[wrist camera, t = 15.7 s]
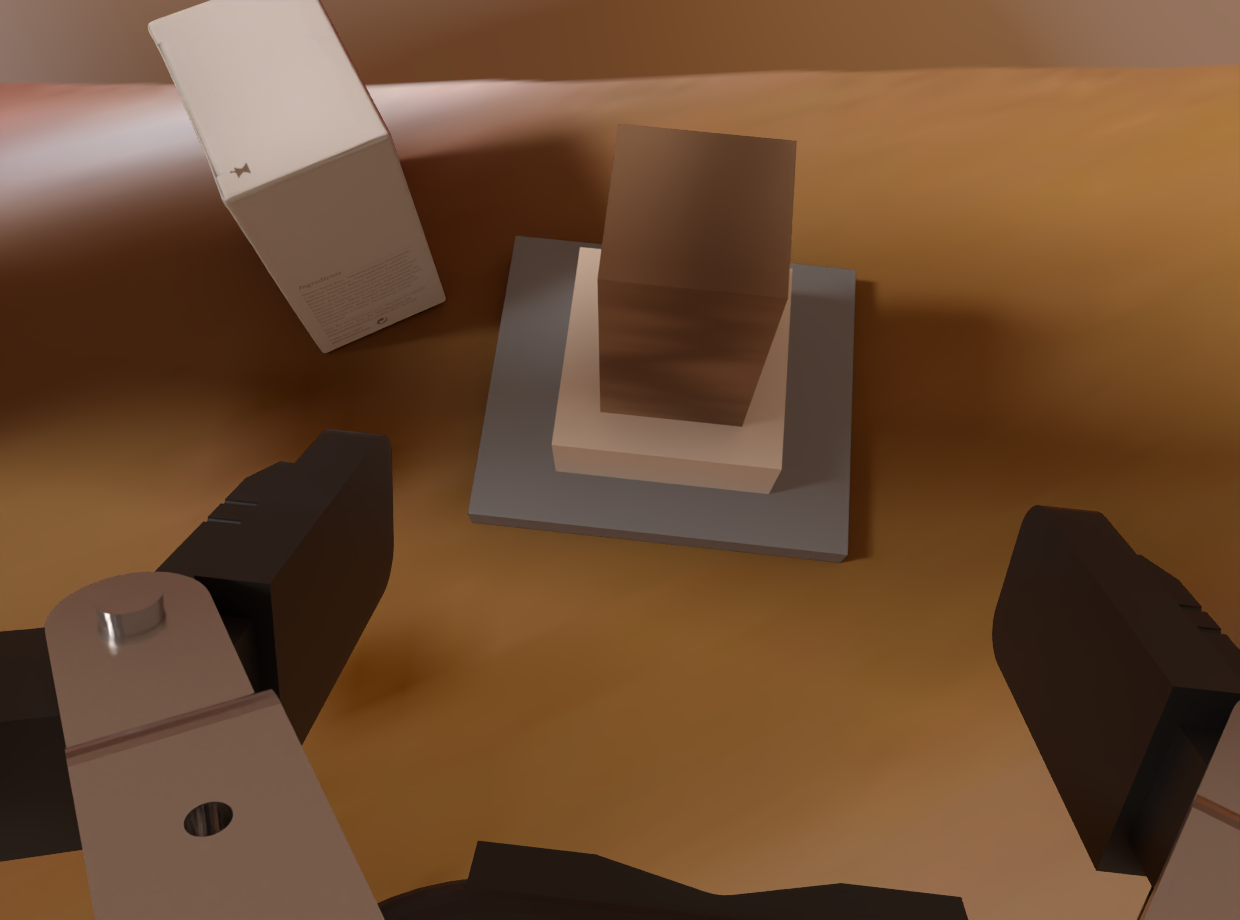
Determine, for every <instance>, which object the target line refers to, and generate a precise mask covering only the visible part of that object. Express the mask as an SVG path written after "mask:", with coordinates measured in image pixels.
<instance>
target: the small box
mask: <svg viewBox="0 0 1240 920" xmlns="http://www.w3.org/2000/svg"><path fill="white" fill-rule="evenodd" d="M148 30H149V33H150V34H151V36H152V38H153V40H154V42H155V43H156V46H157V48H158V49H159V51H160V53H161V55H162V58H163V60H164V62H165V64H166V66H167V68H168V71H169V73H170V75H171V77H172V79H173V82H174V84H175V86H176V89H177V91H178V93H179V95H180V98H181V100H182V102H183V104H184V107H185V109H186V111H187V114H188V116H189V118H190V120H191V123H192V125H193V127H194V130H195V132H196V134H197V137H198V139H199V141H200V144H201V146H202V148H203V151H204V153H205V155H206V158H207V160H208V163H209V166H210V168H211V171H212V174H213V176H214V179H215V182H216V184H217V187H218V190H219V193H220V195H221V199H222V201H223V203H224V204H225V206H226V207H227V209H228V210H229V212H230V213H231V215H232V216H233V217H234V219H235V220H236V222H237V224H238V225H239V227H240V228H241V230H242V231H243V233H244V234H245V236H246V237H247V239H248V240H249V242H250V243H251V245H252V246H253V248H254V250H255V251H256V253H257V254H258V256H259V257H260V259H261V261H262V262H263V264H264V265H265V267H266V269H267V270H268V272H269V273H270V275H271V276H272V278H273V279H274V281H275V283H276V284H277V286H278V287H279V289H280V290H281V292H282V293H283V295H284V296H285V298H286V299H287V301H288V302H289V304H290V305H291V307H292V309H293V310H294V311H295V313H296V314H297V316H298V318H299V319H300V321H301V322H302V324H303V325H304V327H305V328H306V330H307V331H308V332H309V334H310V335H311V337H312V338H313V340H314V341H315V343H316V344H317V346H318V347H319V349H320V350H321V351H322V352H323V353H327V352H330V351H332V350H334V349H336V348H339V347H341V346H343V345H346V344H348V343H350V342H353V341H355V340H357V339H359V338H362V337H364V336H366V335H369V334H371V333H373V332H376V331H378V330H380V329H382V328H384V327H387V326H389V325H391V324H394V323H396V322H398V321H400V320H403V319H405V318H407V317H410V316H412V315H414V314H417V313H419V312H421V311H424V310H426V309H428V308H431V307H433V306H435V305H437V304H440V303H442V302H444V301H445V300H446V297H445V294H444V291H443V288H442V285H441V282H440V279H439V276H438V273H437V270H436V267H435V264H434V261H433V258H432V255H431V252H430V249H429V246H428V243H427V240H426V238H425V235H424V232H423V229H422V226H421V223H420V220H419V217H418V214H417V211H416V208H415V205H414V202H413V200H412V197H411V194H410V191H409V188H408V185H407V182H406V179H405V176H404V173H403V170H402V167H401V164H400V162H399V159H398V155H397V152H396V149H395V146H394V143H393V140H392V137H391V134H390V132H389V130H388V128H387V126H386V124H385V122H384V121H383V119H382V117H381V115H380V113H379V111H378V109H377V107H376V106H375V104H374V102H373V100H372V98H371V96H370V94H369V92H368V90H367V88H366V86H365V84H364V83H363V80H362V79H361V77H360V75H359V73H358V71H357V69H356V67H355V65H354V63H353V62H352V60H351V58H350V56H349V54H348V52H347V50H346V48H345V46H344V44H343V42H342V41H341V39H340V37H339V35H338V33H337V31H336V29H335V28H334V25H333V24H332V22H331V20H330V18H329V16H328V14H327V12H326V11H325V8H324V7H323V4H322V3H321V1H320V0H210V1H207V2H205V3H202V4H199V5H197V6H194V7H190V8H188V9H185V10H182V11H179V12H176V13H174V14H171V15H168V16H165V17H163V18H160V19H157V20H154V21H152V22H150V23H149V24H148Z"/></svg>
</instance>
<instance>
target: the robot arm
mask: <svg viewBox="0 0 1240 920" xmlns="http://www.w3.org/2000/svg"><path fill="white" fill-rule="evenodd" d="M393 549H394V534H393V486H392V452H391V445H390V441H389V439H388V437H387V436H386V435H382V434H372V433H363V432H353V431H344V430H335V429H326V430H324V431H323V432H322V433H321V434H320V435H319V437H318V438H317V439H316V440H315V441H314V442H313V443H312V444H311V445H310V447H309V448H308V449H307V450H306V451H305V452H304V453H303V454H302V455H301V457H300V458H299V459H298V460H297V461H296V462H295V463H289V462H278V463H276V464H274V465H272V466H270V467H268V468H266V469H264V470H261V471H259V472H257V473H255V474H253V475H251V476H249V477H247V478H245V479H244V480H243V481H242V482H241V483H240V485H239V486H238V487H237V488H236V489H235V490H234V491H233V492H232V493H231V494H230V495H229V496H228V497H227V498H226V499H225V504H220V505H219V506H218V507H217V508H216V509H215V510H214V511H213V512H212V513H211V514H210V515H209V516H208V521H207V522H202V524H201V525H200V526H199V527H198V528H197V529H196V530H195V531H194V532H193V533H192V534H191V535H190V536H189V537H188V538H187V539H186V540H185V541H184V542H183V543H182V544H181V545H180V546H179V547H178V548H177V549H176V550H175V551H174V552H173V553H172V554H171V555H170V556H169V557H168V558H167V559H166V560H165V562H164V563H163V564H162V565H161V566H160V567H159V568H158V569H157V570H156V571H155V572H138V573H130V574H124V575H118V576H114V577H110V578H106V579H103V580H100V581H97V582H95V583H92V584H90V585H87V586H85V587H83V588H81V589H79V590H77V591H75V592H74V593H72V594H70V595H69V596H67V597H66V598H64V599H63V600H62V601H60V602H59V603H58V604H57V605H56V606H55V607H54V608H53V609H52V611H51V612H50V614H49V615H48V617H47V620H46V623H45V627H44V628H36V629H26V630H14V631H2V632H0V862H1V861H8V860H15V859H22V858H28V857H35V856H42V855H49V854H56V853H63V852H70V851H77V850H83V854H84V860H85V865H86V871H87V876H88V882H89V887H90V893H91V898H92V904H93V909H94V915H95V920H968V918H967V915H966V911H965V908H964V905H963V902H962V898H961V897H955V896H946V895H938V894H929V893H921V892H912V891H904V890H895V889H887V888H878V887H869V886H861V885H852V884H844V883H838V884H829V885H820V886H811V887H802V888H793V889H783V890H774V891H765V892H756V893H747V894H737V895H716V894H711V893H707V892H704V891H701V890H698V889H695V888H692V887H689V886H686V885H684V884H681V883H678V882H675V881H672V880H669V879H666V878H663V877H660V876H657V875H654V874H651V873H648V872H645V871H642V870H640V869H637V868H634V867H631V866H628V865H625V864H622V863H619V862H616V861H613V860H610V859H607V858H604V857H601V856H599V855H596V854H587V853H579V852H570V851H562V850H553V849H545V848H536V847H528V846H519V845H511V844H502V843H493V842H485V841H478V842H477V846H476V850H475V854H474V858H473V861H472V865H471V869H470V873H469V877H468V879H465V880H457V881H449V882H445V883H440V884H436V885H431V886H426V887H422V888H418V889H415V890H412V891H409V892H406V893H403V894H400V895H397V896H394V897H391V898H388V899H386V900H384V901H382V902H380V903H376V900H375V898H374V896H373V894H372V892H371V890H370V888H369V886H368V884H367V882H366V880H365V877H364V875H363V873H362V871H361V869H360V867H359V865H358V863H357V861H356V859H355V857H354V855H353V852H352V850H351V848H350V846H349V844H348V842H347V840H346V838H345V836H344V834H343V832H342V829H341V827H340V825H339V823H338V821H337V819H336V817H335V815H334V813H333V811H332V809H331V807H330V804H329V802H328V800H327V798H326V796H325V794H324V792H323V790H322V788H321V786H320V784H319V782H318V779H317V777H316V775H315V773H314V771H313V769H312V767H311V765H310V763H309V761H308V759H307V756H306V754H305V752H304V750H303V748H302V744H303V742H304V740H305V739H306V737H307V735H308V733H309V731H310V729H311V727H312V726H313V724H314V722H315V720H316V718H317V716H318V714H319V713H320V711H321V709H322V707H323V705H324V703H325V701H326V700H327V698H328V696H329V694H330V692H331V690H332V688H333V687H334V685H335V683H336V681H337V679H338V677H339V675H340V673H341V672H342V670H343V668H344V666H345V664H346V662H347V660H348V659H349V657H350V655H351V653H352V651H353V649H354V647H355V646H356V644H357V642H358V640H359V638H360V636H361V634H362V633H363V631H364V629H365V627H366V625H367V623H368V621H369V620H370V618H371V616H372V614H373V612H374V610H375V608H376V607H377V605H378V603H379V601H380V599H381V597H382V595H383V593H384V591H385V589H386V586H387V583H388V580H389V576H390V572H391V567H392V560H393ZM1201 608H1202V606H1201V605H1200V604H1199V603H1198V602H1197V601H1196V600H1195V598H1194V597H1193V596H1192V595H1191V594H1190V593H1189V592H1188V590H1187V589H1186V588H1185V587H1184V586H1183V585H1182V583H1181V582H1180V581H1179V580H1178V579H1176V578H1175V577H1173V576H1172V575H1170V574H1169V573H1167V572H1166V571H1164V570H1163V569H1161V568H1160V567H1158V566H1157V565H1155V564H1154V563H1152V562H1151V561H1149V560H1148V559H1146V558H1145V557H1143V556H1142V555H1137V554H1136V553H1135V552H1134V551H1133V550H1132V548H1131V547H1130V546H1129V545H1128V544H1127V542H1126V541H1125V540H1124V539H1123V538H1122V536H1121V535H1120V534H1119V533H1118V532H1117V530H1116V529H1115V528H1114V527H1113V526H1112V524H1111V523H1110V522H1109V521H1108V520H1107V518H1106V517H1105V516H1104V515H1103V514H1102V513H1100V512H1096V511H1087V510H1078V509H1068V508H1059V507H1049V506H1040V505H1036V506H1033V507H1032V508H1031V509H1030V510H1029V511H1028V512H1027V514H1026V515H1025V517H1024V520H1023V522H1022V525H1021V528H1020V531H1019V534H1018V538H1017V541H1016V544H1015V547H1014V551H1013V554H1012V557H1011V560H1010V564H1009V567H1008V570H1007V574H1006V577H1005V580H1004V583H1003V587H1002V590H1001V593H1000V597H999V600H998V603H997V606H996V610H995V614H994V619H993V629H992V641H993V649H994V654H995V658H996V661H997V663H998V666H999V668H1000V670H1001V672H1002V674H1003V676H1004V678H1005V680H1006V682H1007V684H1008V686H1009V689H1010V691H1011V693H1012V695H1013V697H1014V699H1015V701H1016V703H1017V705H1018V707H1019V710H1020V712H1021V714H1022V716H1023V718H1024V720H1025V722H1026V724H1027V726H1028V728H1029V731H1030V733H1031V735H1032V737H1033V739H1034V741H1035V743H1036V745H1037V747H1038V749H1039V752H1040V754H1041V756H1042V758H1043V760H1044V762H1045V764H1046V766H1047V768H1048V770H1049V773H1050V775H1051V777H1052V779H1053V781H1054V783H1055V785H1056V787H1057V789H1058V791H1059V794H1060V796H1061V798H1062V800H1063V802H1064V804H1065V806H1066V808H1067V810H1068V812H1069V815H1070V817H1071V819H1072V821H1073V823H1074V825H1075V827H1076V829H1077V831H1078V833H1079V836H1080V838H1081V840H1082V842H1083V844H1084V846H1085V848H1086V850H1087V852H1088V854H1089V857H1090V859H1091V861H1092V863H1093V865H1094V867H1095V869H1096V871H1104V872H1113V873H1122V874H1130V875H1139V876H1147V878H1148V880H1149V882H1150V884H1151V886H1152V887H1151V889H1150V891H1149V893H1148V896H1147V898H1146V900H1145V902H1144V904H1143V906H1142V909H1141V911H1140V913H1139V915H1138V918H1137V920H1240V650H1239V649H1238V648H1237V647H1236V645H1235V644H1234V643H1233V642H1232V641H1231V640H1230V639H1229V637H1228V636H1227V635H1224V634H1221V628H1220V627H1219V626H1218V625H1217V624H1216V623H1215V621H1214V620H1213V619H1212V618H1211V617H1210V616H1209V614H1208V613H1207V612H1202V611H1201Z"/></svg>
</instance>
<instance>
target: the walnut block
mask: <svg viewBox="0 0 1240 920" xmlns="http://www.w3.org/2000/svg"><path fill="white" fill-rule="evenodd" d="M796 142H797V141H792V140H781V139H771V138H761V137H750V136H740V135H730V134H719V133H709V132H698V131H688V130H678V129H667V128H657V127H647V126H636V125H626V124H618V128H617V136H616V143H615V151H614V158H613V166H612V173H611V181H610V188H609V196H608V203H607V211H606V218H605V226H604V233H603V241H602V248H601V256H600V263H599V271H598V278H597V284H598V330H599V376H600V412H605V413H615V414H624V415H634V416H643V417H653V418H663V419H672V420H682V421H691V422H701V423H710V424H720V425H730V426H739V427H742V426H743V423H744V420H745V417H746V414H747V412H748V409H749V406H750V403H751V400H752V398H753V395H754V392H755V389H756V386H757V384H758V381H759V378H760V375H761V373H762V370H763V367H764V364H765V361H766V359H767V356H768V353H769V350H770V347H771V345H772V342H773V339H774V336H775V333H776V331H777V328H778V325H779V322H780V319H781V317H782V314H783V311H784V308H785V306H786V303H787V300H788V290H789V271H790V253H791V234H792V216H793V197H794V179H795V160H796Z"/></svg>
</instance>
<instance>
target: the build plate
mask: <svg viewBox="0 0 1240 920" xmlns="http://www.w3.org/2000/svg"><path fill="white" fill-rule="evenodd" d="M601 248H602V244H595V243H585V242H575V241H565V240H555V239H546V238H536V237H526V236H515V242H514V248H513V254H512V260H511V266H510V271H509V277H508V283H507V289H506V295H505V300H504V306H503V312H502V318H501V324H500V330H499V335H498V341H497V347H496V353H495V359H494V365H493V370H492V376H491V382H490V388H489V394H488V400H487V405H486V411H485V417H484V423H483V429H482V435H481V440H480V446H479V452H478V458H477V464H476V469H475V475H474V481H473V487H472V493H471V499H470V504H469V510H468V515H469V517H470V519H471V521H472V523H482V524H491V525H500V526H509V527H518V528H527V529H536V530H546V531H555V532H564V533H573V534H582V535H591V536H600V537H610V538H619V539H628V540H637V541H646V542H655V543H664V544H673V545H683V546H692V547H701V548H710V549H719V550H728V551H737V552H747V553H756V554H765V555H774V556H783V557H792V558H801V559H811V560H820V561H829V562H838V563H840V562H841V561H842V560H843V559H844V558H845V557H846V556H847V555H848V526H849V491H850V456H851V421H852V386H853V351H854V316H855V281H856V270H852V269H842V268H832V267H822V266H812V265H802V264H793V263H790V271H789V290H788V300H787V303H786V306H785V308H784V311H783V314H782V317H781V319H780V322H779V325H778V328H777V331H776V333H775V336H774V339H773V342H772V345H771V347H770V350H769V353H768V356H767V359H766V361H765V364H764V367H763V370H762V373H761V375H760V378H759V381H758V384H757V386H756V389H755V392H754V395H753V398H752V400H751V403H750V406H749V409H748V412H747V414H746V417H745V420H744V423H743V426H742V427H739V426H730V425H720V424H710V423H701V422H691V421H682V420H672V419H663V418H653V417H643V416H634V415H624V414H615V413H605V412H600V376H599V330H598V284H597V278H598V271H599V263H600V256H601Z"/></svg>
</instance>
